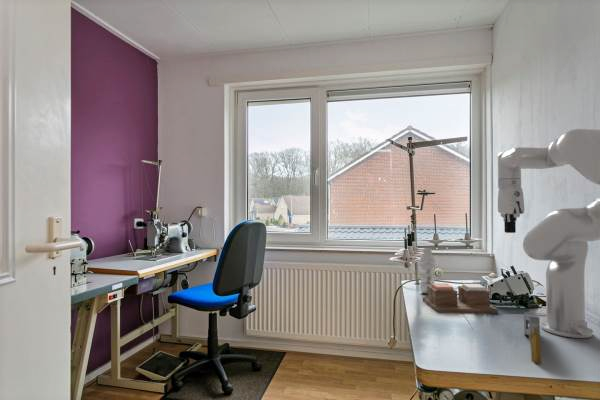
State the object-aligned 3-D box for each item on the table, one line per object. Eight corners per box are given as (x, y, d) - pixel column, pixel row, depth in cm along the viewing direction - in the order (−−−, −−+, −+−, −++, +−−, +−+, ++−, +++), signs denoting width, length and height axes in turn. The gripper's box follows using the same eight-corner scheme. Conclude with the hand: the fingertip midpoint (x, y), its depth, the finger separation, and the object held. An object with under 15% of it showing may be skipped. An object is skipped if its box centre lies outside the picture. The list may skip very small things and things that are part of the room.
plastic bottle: (416, 292, 155) (416, 248, 155) (427, 291, 158) (427, 247, 158) (427, 296, 149) (427, 250, 149) (438, 294, 152) (438, 249, 152)
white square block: (485, 300, 130) (485, 287, 130) (469, 300, 130) (469, 287, 130) (477, 296, 136) (477, 283, 136) (462, 296, 136) (462, 283, 136)
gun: (537, 366, 102) (535, 314, 107) (545, 365, 82) (542, 301, 87) (524, 363, 103) (523, 312, 109) (529, 362, 84) (527, 299, 89)
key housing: (497, 313, 125) (497, 293, 125) (436, 312, 126) (436, 293, 126) (476, 301, 141) (476, 284, 141) (422, 300, 142) (422, 283, 142)
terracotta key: (453, 300, 130) (453, 287, 130) (437, 300, 131) (437, 286, 131) (447, 296, 136) (446, 283, 136) (431, 296, 137) (431, 283, 137)
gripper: (532, 182, 122) (533, 234, 122) (508, 185, 137) (508, 231, 137) (510, 182, 122) (511, 234, 122) (489, 185, 137) (489, 231, 137)
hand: (510, 232), depth 129 cm, fingers closed
